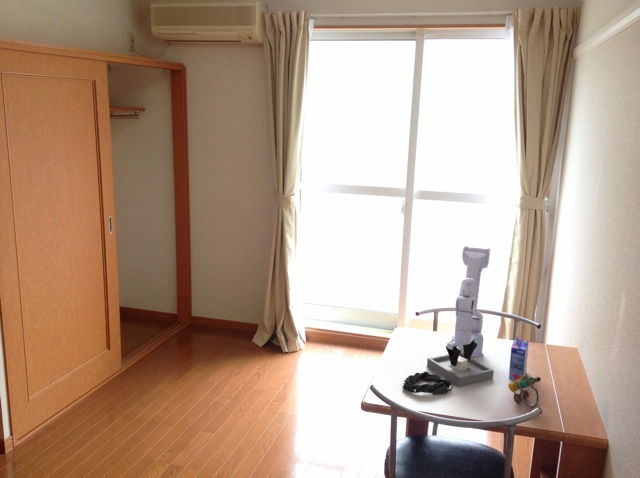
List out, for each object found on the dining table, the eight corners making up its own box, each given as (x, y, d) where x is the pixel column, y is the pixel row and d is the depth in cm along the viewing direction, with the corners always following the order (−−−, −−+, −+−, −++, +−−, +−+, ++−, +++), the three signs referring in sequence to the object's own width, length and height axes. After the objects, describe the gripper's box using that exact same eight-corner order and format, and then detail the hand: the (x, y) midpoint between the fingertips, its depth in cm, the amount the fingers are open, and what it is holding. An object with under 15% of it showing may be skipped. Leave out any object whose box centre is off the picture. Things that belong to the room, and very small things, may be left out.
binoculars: (530, 403, 194) (518, 375, 196) (553, 399, 188) (541, 369, 190) (516, 412, 188) (504, 382, 190) (539, 407, 182) (526, 377, 184)
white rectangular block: (457, 369, 214) (459, 355, 213) (466, 373, 211) (467, 359, 210) (451, 372, 212) (452, 358, 211) (459, 376, 209) (461, 362, 208)
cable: (409, 399, 191) (410, 387, 190) (394, 380, 204) (395, 369, 203) (456, 395, 195) (457, 383, 194) (438, 377, 208) (439, 366, 207)
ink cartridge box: (510, 368, 217) (514, 332, 214) (526, 371, 215) (530, 335, 212) (507, 378, 208) (511, 341, 205) (523, 382, 206) (527, 344, 203)
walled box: (459, 360, 223) (460, 351, 222) (492, 379, 207) (493, 370, 207) (426, 366, 216) (427, 358, 215) (458, 387, 200) (459, 377, 199)
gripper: (466, 321, 215) (463, 354, 218) (441, 328, 206) (438, 363, 209) (482, 326, 210) (479, 361, 213) (457, 334, 201) (454, 370, 204)
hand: (460, 363), depth 211 cm, fingers open, 7 cm apart
